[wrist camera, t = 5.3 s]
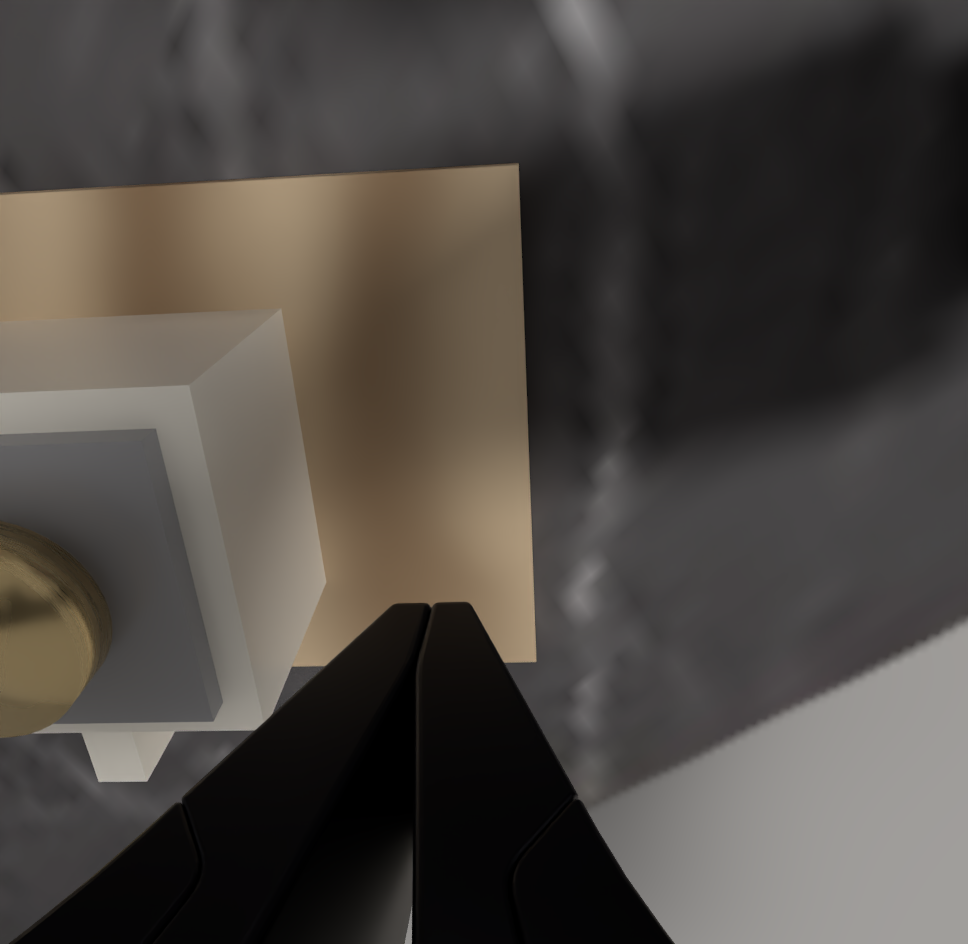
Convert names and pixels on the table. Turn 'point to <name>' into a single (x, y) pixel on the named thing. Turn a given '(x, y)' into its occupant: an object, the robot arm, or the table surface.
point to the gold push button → (45, 630)
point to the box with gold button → (167, 513)
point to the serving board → (342, 357)
